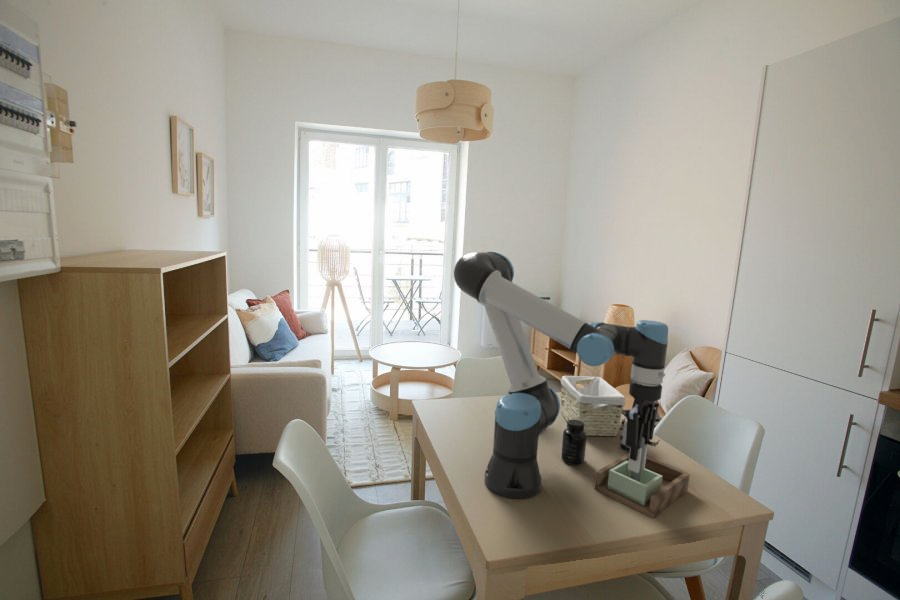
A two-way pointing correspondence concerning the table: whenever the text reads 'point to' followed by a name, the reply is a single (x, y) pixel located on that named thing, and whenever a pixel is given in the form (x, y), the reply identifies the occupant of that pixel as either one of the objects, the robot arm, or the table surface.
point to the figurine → (624, 428)
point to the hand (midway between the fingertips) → (636, 468)
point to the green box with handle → (634, 481)
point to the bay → (670, 492)
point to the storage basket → (592, 404)
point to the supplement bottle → (574, 443)
